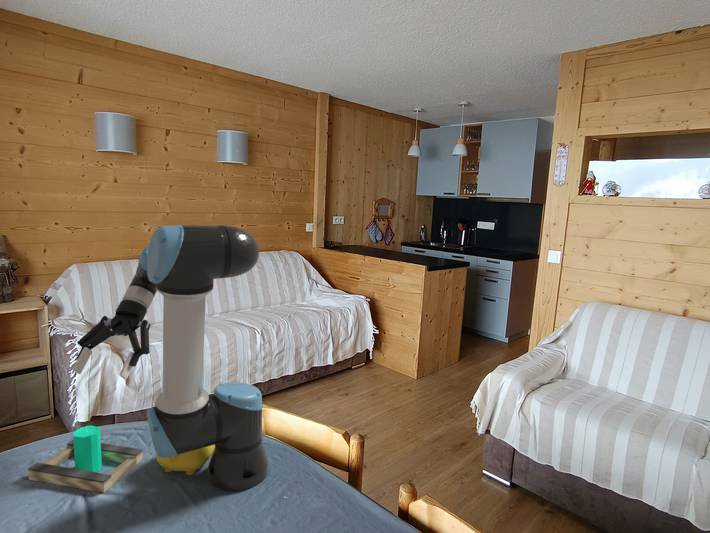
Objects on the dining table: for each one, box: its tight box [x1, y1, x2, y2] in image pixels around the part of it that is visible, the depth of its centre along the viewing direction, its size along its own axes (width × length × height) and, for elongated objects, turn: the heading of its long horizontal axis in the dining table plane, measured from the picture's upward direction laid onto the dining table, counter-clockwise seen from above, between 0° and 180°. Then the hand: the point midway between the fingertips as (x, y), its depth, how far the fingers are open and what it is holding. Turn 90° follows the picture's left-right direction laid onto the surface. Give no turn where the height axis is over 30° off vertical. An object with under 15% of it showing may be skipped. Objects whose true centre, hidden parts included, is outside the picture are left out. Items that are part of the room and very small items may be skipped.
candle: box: [72, 425, 103, 473], centre depth 113 cm, size 6×6×12 cm
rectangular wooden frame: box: [27, 439, 144, 494], centre depth 113 cm, size 21×14×3 cm, turn 79°
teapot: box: [155, 444, 215, 476], centre depth 117 cm, size 13×20×12 cm
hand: (99, 374), depth 115 cm, fingers open, 13 cm apart
